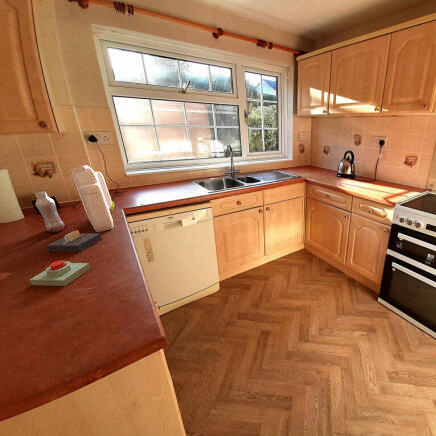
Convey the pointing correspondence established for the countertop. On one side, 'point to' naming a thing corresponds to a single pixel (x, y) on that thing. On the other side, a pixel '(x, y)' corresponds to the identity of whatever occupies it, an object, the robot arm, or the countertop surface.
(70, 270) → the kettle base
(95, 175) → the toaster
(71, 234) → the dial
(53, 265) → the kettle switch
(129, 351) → the countertop surface
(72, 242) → the dial panel
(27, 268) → the countertop surface
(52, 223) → the plastic bottle
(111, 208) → the fruit
